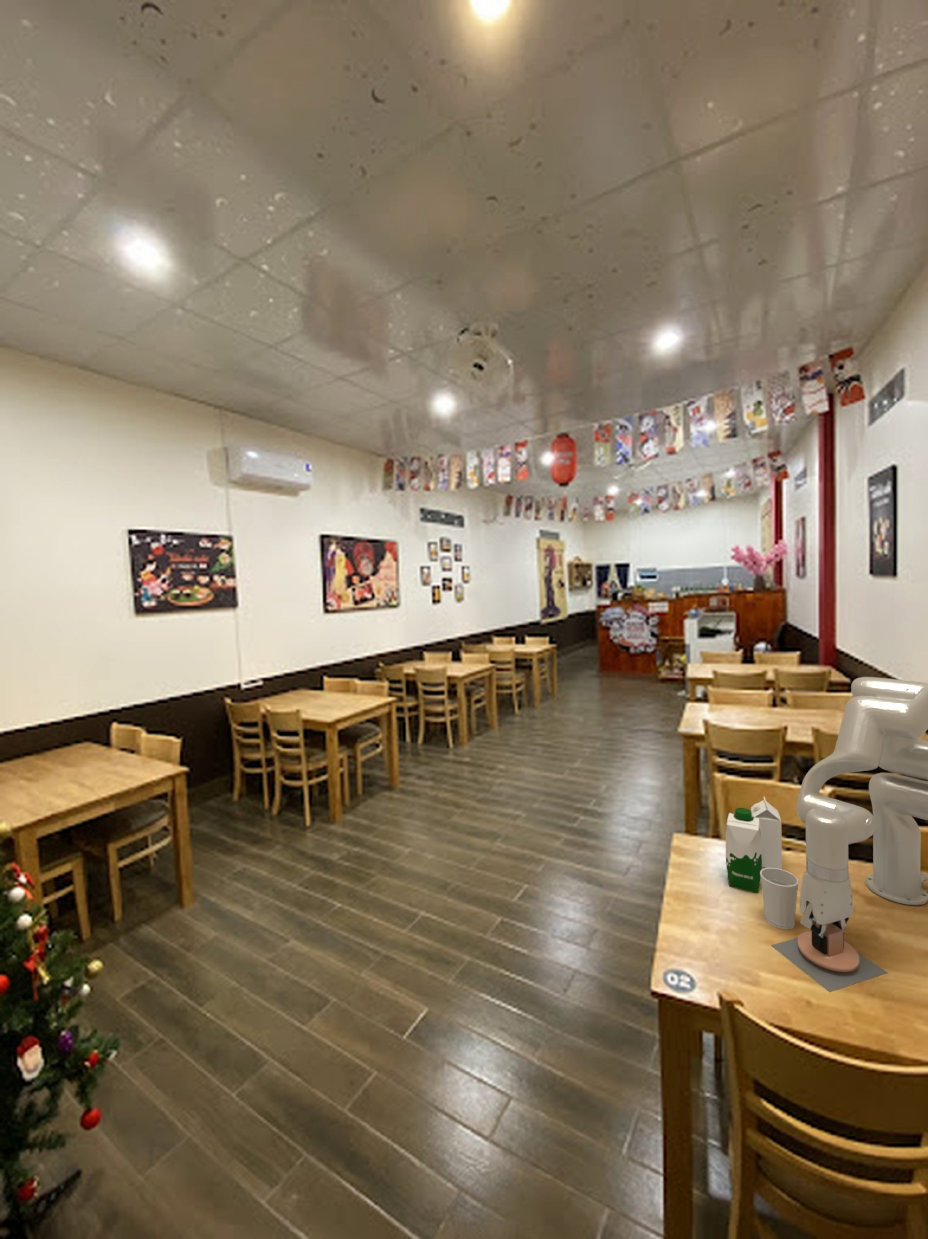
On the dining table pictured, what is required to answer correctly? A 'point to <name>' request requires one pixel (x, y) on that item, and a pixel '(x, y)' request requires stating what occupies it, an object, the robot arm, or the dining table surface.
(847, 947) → the lid
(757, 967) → the dining table surface
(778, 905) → the cup
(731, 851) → the soya milk
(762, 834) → the milk carton
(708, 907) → the dining table surface
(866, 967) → the mat
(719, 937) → the dining table surface
